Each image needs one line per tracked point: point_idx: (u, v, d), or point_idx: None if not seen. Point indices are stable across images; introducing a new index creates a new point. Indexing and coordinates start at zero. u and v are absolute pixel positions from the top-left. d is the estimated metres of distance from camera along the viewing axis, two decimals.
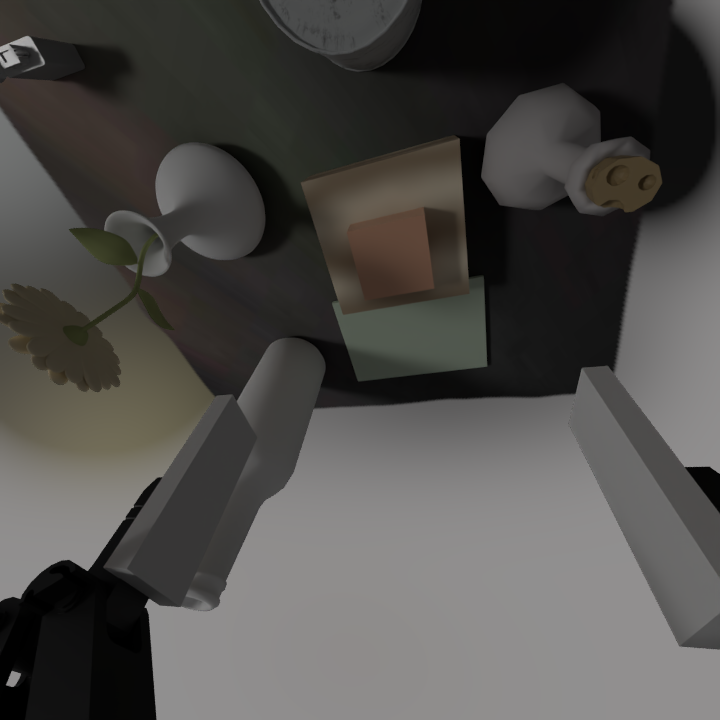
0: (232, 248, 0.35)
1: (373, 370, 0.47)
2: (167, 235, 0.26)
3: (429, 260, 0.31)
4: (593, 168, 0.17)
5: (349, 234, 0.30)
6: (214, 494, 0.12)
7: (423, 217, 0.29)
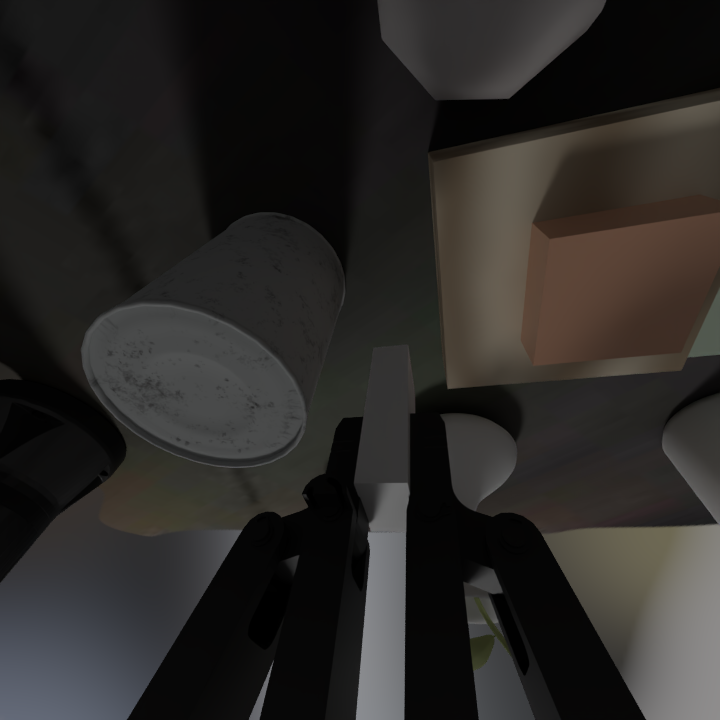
0: (503, 465, 0.28)
1: None
2: None
3: (659, 224, 0.14)
4: None
5: (538, 362, 0.18)
6: None
7: (555, 241, 0.14)
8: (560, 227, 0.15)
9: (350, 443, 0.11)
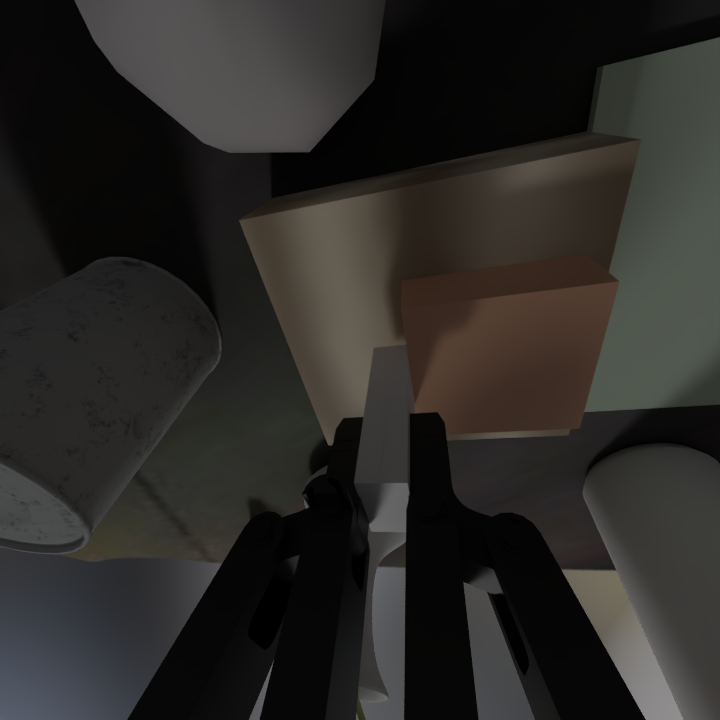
0: None
1: None
2: None
3: (522, 296, 0.11)
4: None
5: None
6: None
7: (408, 310, 0.12)
8: (422, 291, 0.13)
9: (350, 443, 0.11)
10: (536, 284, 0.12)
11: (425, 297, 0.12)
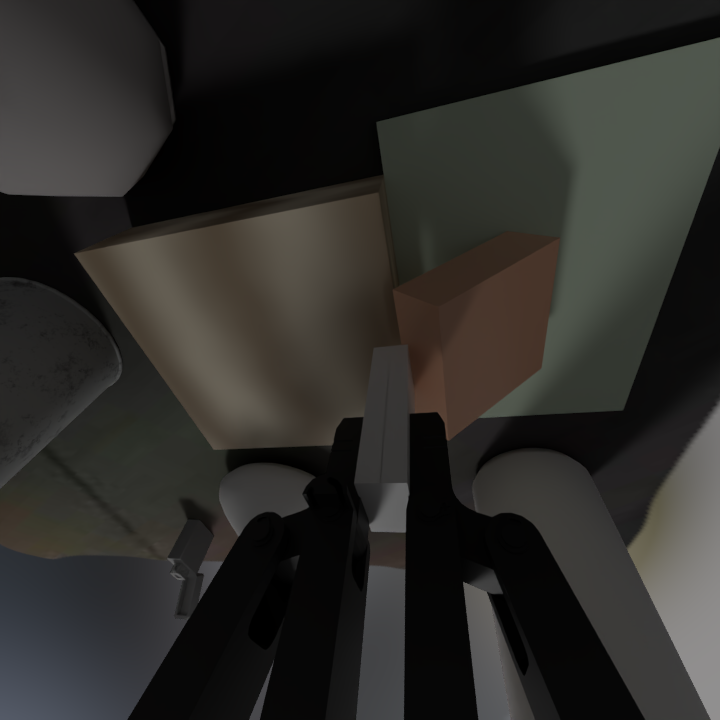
0: None
1: (603, 380, 0.20)
2: None
3: (515, 265, 0.13)
4: None
5: (452, 434, 0.15)
6: None
7: (443, 307, 0.12)
8: (431, 288, 0.13)
9: (350, 443, 0.11)
10: (513, 255, 0.13)
11: (443, 291, 0.12)
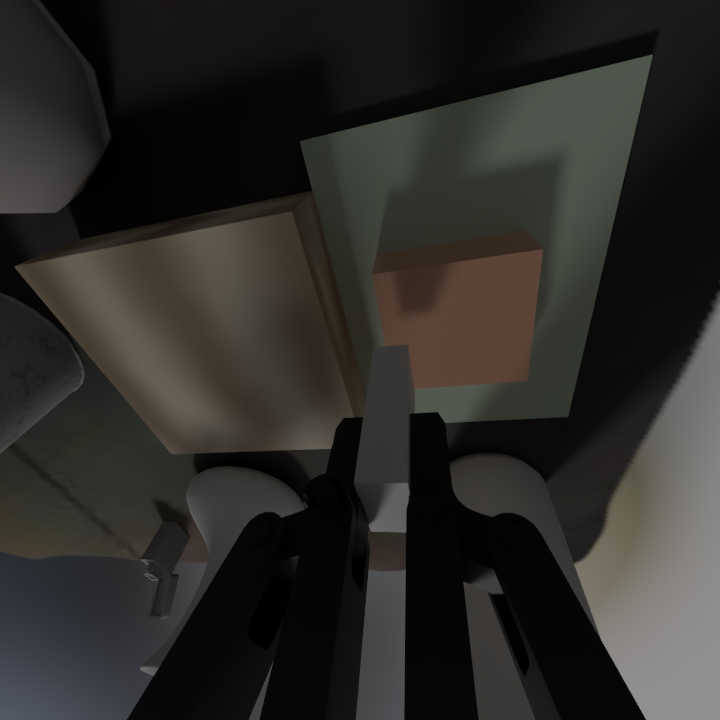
0: None
1: (545, 387, 0.21)
2: None
3: (468, 262, 0.14)
4: None
5: None
6: None
7: (377, 276, 0.15)
8: (391, 261, 0.16)
9: (350, 443, 0.11)
10: (480, 253, 0.14)
11: (392, 265, 0.15)
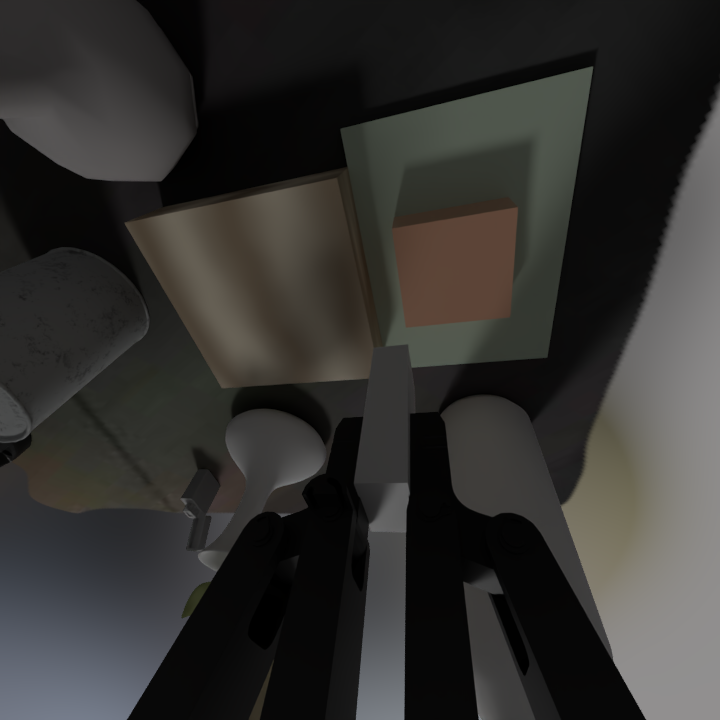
0: (301, 453, 0.34)
1: (527, 331, 0.26)
2: (226, 536, 0.28)
3: (463, 218, 0.19)
4: None
5: (409, 324, 0.24)
6: None
7: (396, 230, 0.20)
8: (406, 220, 0.21)
9: (350, 443, 0.11)
10: (472, 212, 0.19)
11: (407, 222, 0.20)
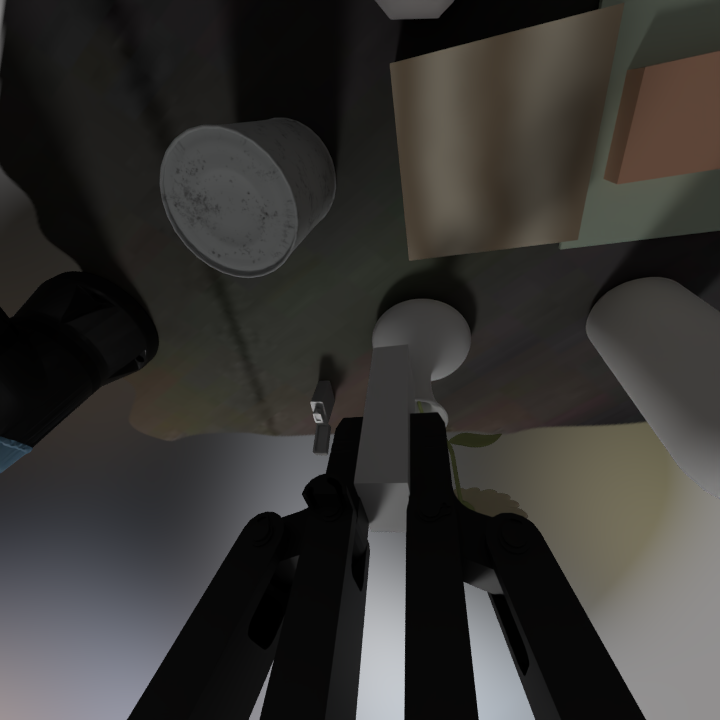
0: (457, 340, 0.36)
1: (717, 198, 0.28)
2: (418, 394, 0.30)
3: None
4: None
5: (621, 180, 0.26)
6: None
7: (648, 68, 0.22)
8: (650, 65, 0.23)
9: (350, 443, 0.11)
10: None
11: (656, 64, 0.22)
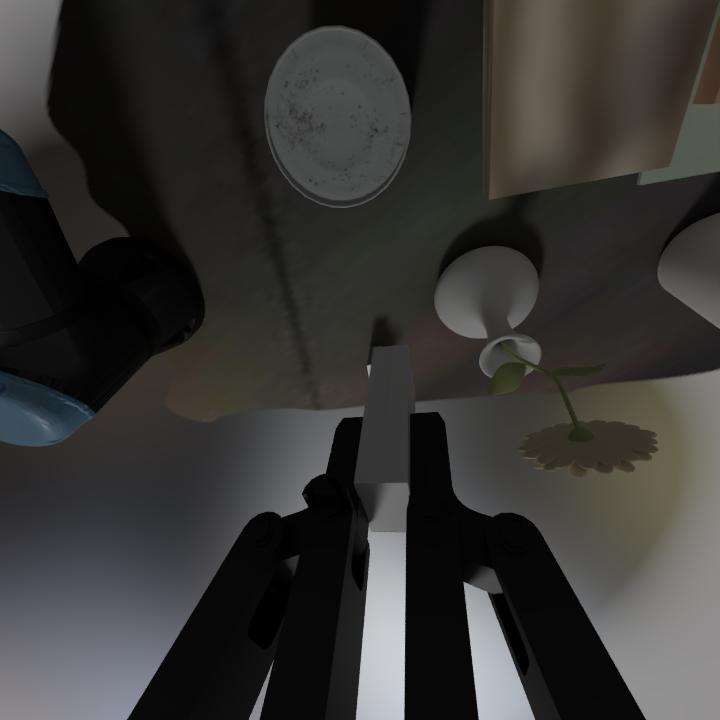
0: (528, 288, 0.35)
1: None
2: (507, 333, 0.29)
3: None
4: None
5: (719, 100, 0.25)
6: None
7: None
8: None
9: (350, 443, 0.11)
10: None
11: None
